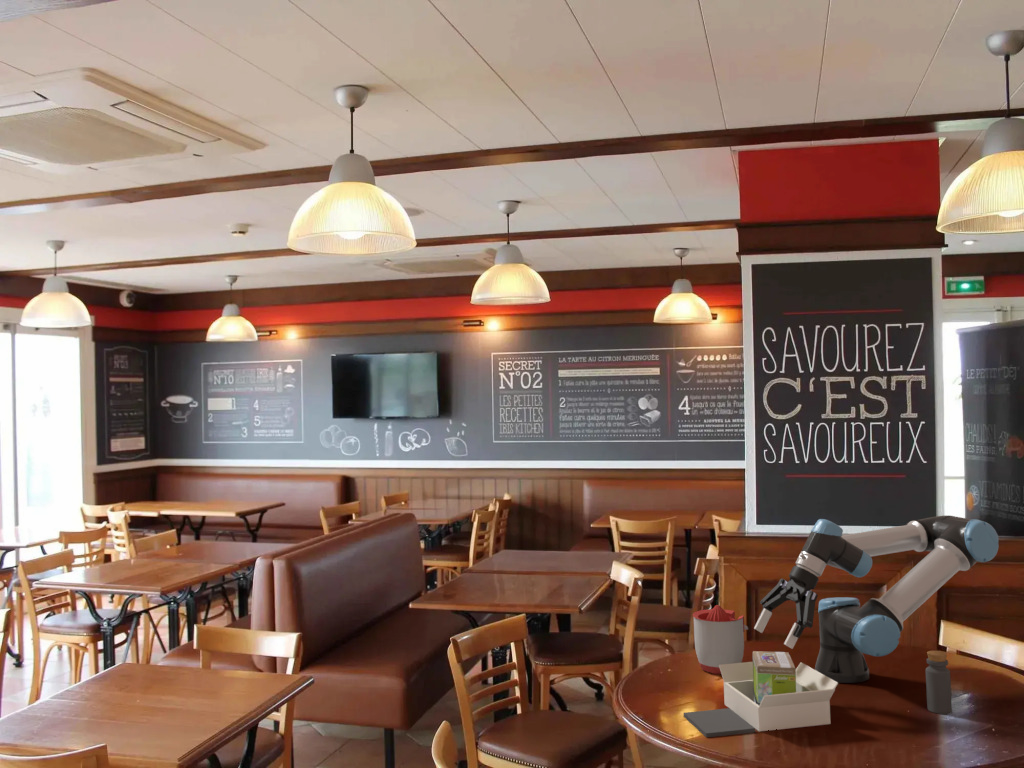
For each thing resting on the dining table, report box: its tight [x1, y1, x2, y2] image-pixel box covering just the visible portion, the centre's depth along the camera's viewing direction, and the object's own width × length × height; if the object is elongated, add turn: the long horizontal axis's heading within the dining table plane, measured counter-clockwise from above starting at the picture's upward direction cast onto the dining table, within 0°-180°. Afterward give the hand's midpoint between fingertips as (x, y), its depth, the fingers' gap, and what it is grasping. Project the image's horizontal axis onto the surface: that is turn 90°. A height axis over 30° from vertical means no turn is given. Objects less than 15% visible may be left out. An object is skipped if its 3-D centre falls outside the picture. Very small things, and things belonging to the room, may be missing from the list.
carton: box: [719, 661, 839, 732], centre depth 225 cm, size 23×27×10 cm
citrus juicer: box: [692, 604, 749, 675], centre depth 265 cm, size 16×17×20 cm
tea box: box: [752, 650, 796, 705], centre depth 225 cm, size 15×10×15 cm, turn 169°
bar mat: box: [683, 707, 756, 738], centre depth 219 cm, size 13×15×1 cm
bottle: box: [925, 650, 953, 715], centre depth 224 cm, size 6×6×15 cm
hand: (772, 638), depth 236 cm, fingers open, 13 cm apart
